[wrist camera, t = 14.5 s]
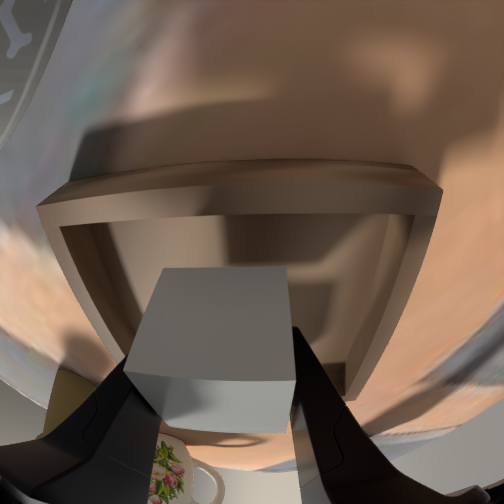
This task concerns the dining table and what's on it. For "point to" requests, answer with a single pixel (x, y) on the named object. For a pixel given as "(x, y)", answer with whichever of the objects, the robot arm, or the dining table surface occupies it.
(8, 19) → the dog bowl
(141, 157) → the dining table surface
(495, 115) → the dining table surface
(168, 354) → the gray cube
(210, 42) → the dining table surface
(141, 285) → the walnut bin
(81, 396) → the cork
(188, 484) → the pitcher
